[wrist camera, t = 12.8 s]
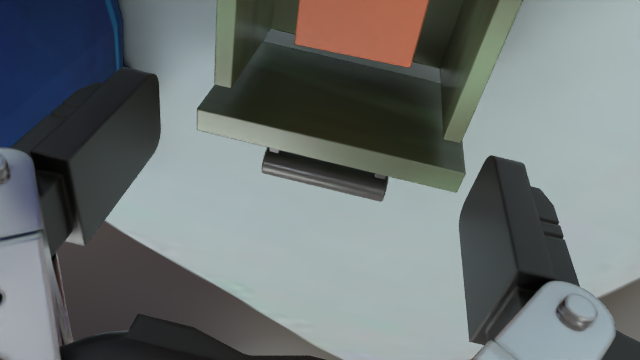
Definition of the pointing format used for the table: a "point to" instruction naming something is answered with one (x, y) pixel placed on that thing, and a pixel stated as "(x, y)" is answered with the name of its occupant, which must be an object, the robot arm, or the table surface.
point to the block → (362, 28)
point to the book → (52, 56)
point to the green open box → (353, 97)
